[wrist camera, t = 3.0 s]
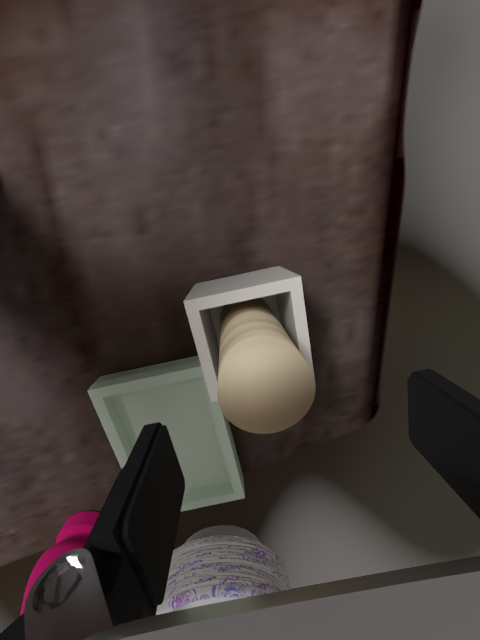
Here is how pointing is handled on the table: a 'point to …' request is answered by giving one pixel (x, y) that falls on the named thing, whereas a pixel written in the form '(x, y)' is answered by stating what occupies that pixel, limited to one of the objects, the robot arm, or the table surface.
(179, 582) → the paper bowls
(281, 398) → the beige ringed cylinder
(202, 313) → the box
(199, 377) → the tray
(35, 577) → the pepper mill
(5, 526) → the table surface
